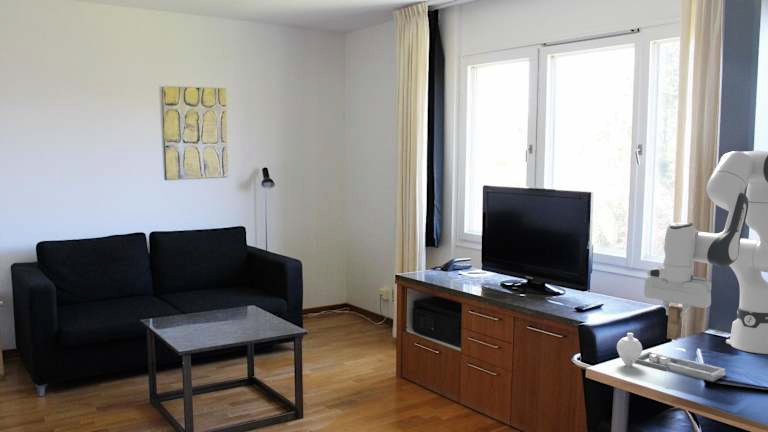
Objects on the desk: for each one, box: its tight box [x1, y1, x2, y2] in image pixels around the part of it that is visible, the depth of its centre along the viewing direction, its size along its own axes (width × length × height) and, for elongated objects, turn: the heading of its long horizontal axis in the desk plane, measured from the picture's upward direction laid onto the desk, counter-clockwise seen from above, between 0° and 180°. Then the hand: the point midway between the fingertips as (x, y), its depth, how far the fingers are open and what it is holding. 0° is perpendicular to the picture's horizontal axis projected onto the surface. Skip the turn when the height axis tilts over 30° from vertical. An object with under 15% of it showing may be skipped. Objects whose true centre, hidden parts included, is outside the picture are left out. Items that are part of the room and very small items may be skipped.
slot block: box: [666, 357, 726, 383], centre depth 211 cm, size 9×14×4 cm, turn 42°
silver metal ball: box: [658, 355, 671, 366], centre depth 218 cm, size 3×3×3 cm
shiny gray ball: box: [648, 353, 661, 364], centre depth 221 cm, size 3×3×3 cm
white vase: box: [616, 332, 643, 367], centre depth 216 cm, size 8×8×12 cm
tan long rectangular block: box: [666, 304, 684, 340], centre depth 215 cm, size 4×2×10 cm, turn 132°
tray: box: [634, 351, 679, 371], centre depth 220 cm, size 11×11×3 cm
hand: (675, 316), depth 215 cm, fingers closed on tan long rectangular block, 2 cm apart
